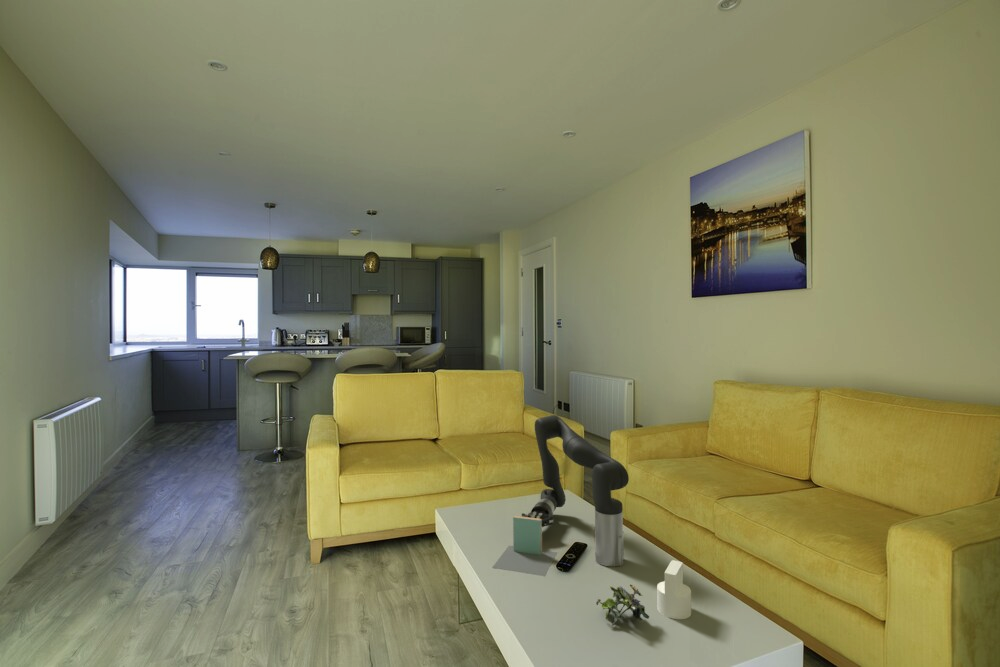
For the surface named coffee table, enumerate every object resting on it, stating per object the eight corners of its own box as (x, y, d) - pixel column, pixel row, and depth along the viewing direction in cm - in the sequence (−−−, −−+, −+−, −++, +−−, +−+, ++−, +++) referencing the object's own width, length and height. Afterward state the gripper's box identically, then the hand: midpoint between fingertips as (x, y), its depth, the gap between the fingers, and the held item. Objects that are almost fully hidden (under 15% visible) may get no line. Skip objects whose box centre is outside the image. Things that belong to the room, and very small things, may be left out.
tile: (542, 552, 177) (541, 518, 177) (540, 554, 175) (540, 520, 175) (514, 549, 180) (514, 515, 180) (513, 551, 179) (513, 517, 179)
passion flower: (635, 638, 137) (660, 612, 132) (607, 644, 131) (631, 617, 126) (613, 598, 145) (635, 573, 141) (585, 602, 140) (608, 576, 135)
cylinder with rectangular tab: (687, 622, 135) (687, 578, 135) (653, 613, 139) (653, 570, 139) (694, 607, 142) (693, 564, 142) (661, 598, 147) (661, 557, 147)
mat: (557, 553, 177) (557, 552, 177) (544, 577, 160) (544, 575, 160) (508, 546, 183) (508, 545, 183) (491, 568, 166) (491, 567, 166)
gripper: (526, 499, 200) (513, 514, 184) (559, 503, 196) (548, 519, 180) (527, 518, 200) (513, 535, 184) (559, 522, 196) (548, 540, 180)
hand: (531, 527), depth 182 cm, fingers closed
